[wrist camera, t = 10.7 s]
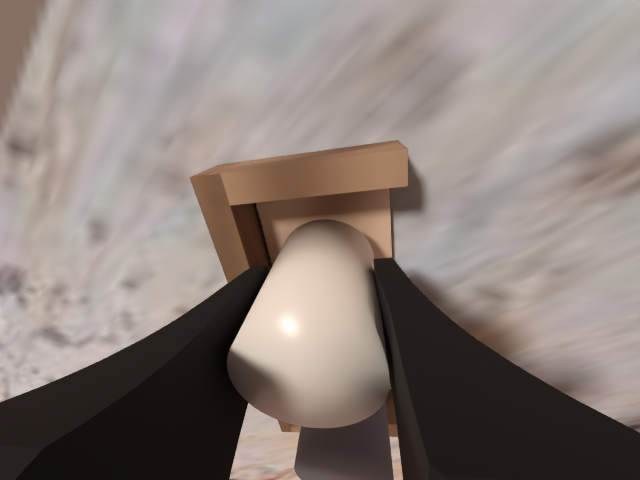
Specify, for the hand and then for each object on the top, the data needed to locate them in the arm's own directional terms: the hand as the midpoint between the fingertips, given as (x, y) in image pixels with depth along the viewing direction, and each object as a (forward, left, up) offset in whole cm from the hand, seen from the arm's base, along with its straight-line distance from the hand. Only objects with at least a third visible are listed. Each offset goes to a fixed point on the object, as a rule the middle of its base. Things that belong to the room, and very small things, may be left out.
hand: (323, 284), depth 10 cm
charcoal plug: (0, +7, -3) cm, 8 cm away
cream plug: (0, 0, -2) cm, 2 cm away
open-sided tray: (0, +4, -3) cm, 5 cm away
